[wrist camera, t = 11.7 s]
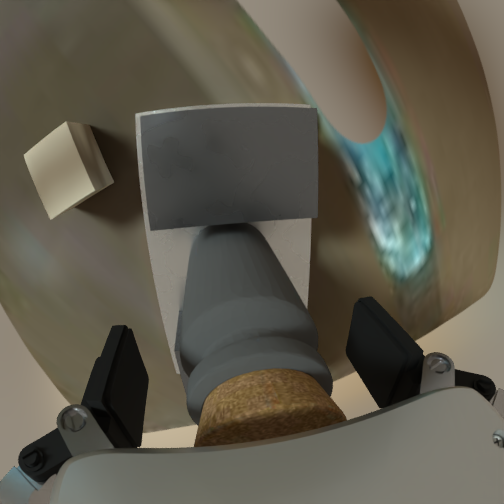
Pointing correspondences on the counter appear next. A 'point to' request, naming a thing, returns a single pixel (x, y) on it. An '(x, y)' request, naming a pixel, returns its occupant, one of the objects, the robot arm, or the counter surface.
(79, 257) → the counter surface
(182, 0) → the counter surface
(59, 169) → the loose block
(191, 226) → the board
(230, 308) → the bottle
